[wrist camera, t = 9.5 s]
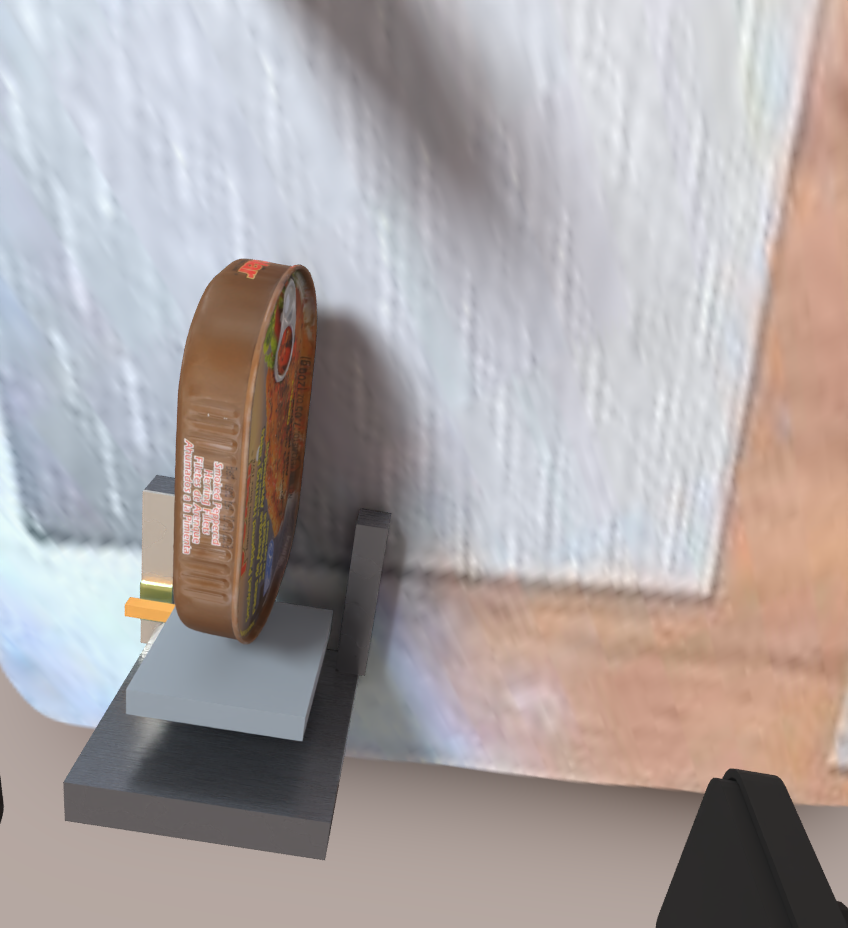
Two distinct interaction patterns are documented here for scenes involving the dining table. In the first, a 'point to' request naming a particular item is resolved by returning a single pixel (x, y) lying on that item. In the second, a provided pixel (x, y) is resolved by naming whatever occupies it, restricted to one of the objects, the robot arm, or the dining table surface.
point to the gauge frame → (225, 751)
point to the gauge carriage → (232, 672)
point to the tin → (241, 444)
